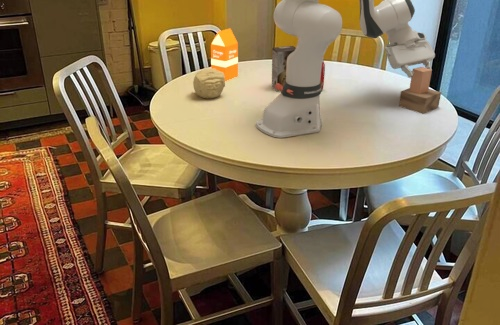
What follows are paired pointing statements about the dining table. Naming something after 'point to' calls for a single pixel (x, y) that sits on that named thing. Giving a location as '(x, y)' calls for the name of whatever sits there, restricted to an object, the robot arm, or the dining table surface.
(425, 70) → the salmon pink block
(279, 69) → the coffee box
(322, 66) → the soda can
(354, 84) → the dining table surface
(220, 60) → the orange juice
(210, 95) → the sculpture
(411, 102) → the walnut box
